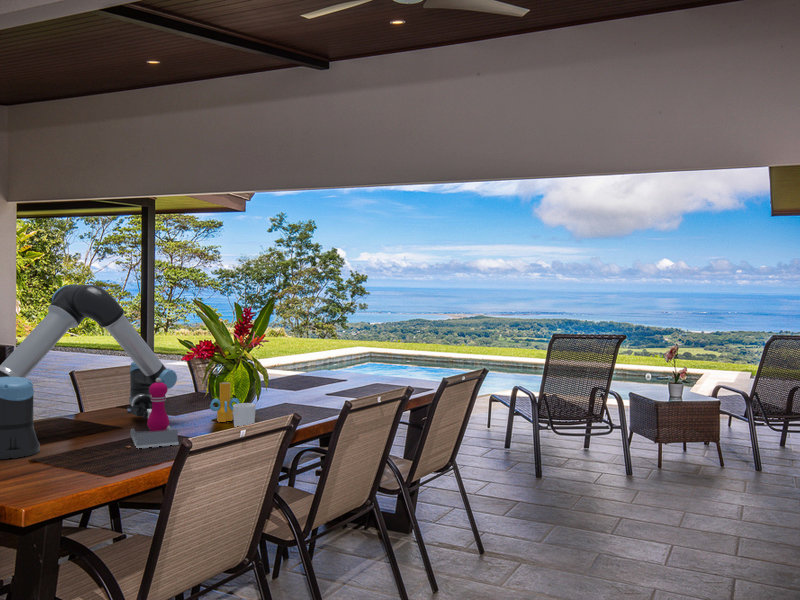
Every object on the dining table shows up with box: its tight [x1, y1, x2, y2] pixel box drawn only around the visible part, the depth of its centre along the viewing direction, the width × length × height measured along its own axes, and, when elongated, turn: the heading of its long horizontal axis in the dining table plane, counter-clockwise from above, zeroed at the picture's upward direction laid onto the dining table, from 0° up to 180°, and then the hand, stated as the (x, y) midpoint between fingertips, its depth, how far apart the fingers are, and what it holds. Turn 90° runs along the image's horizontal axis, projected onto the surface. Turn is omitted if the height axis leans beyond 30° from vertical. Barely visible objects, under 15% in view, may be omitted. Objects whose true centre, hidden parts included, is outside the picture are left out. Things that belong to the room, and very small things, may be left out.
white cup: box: [232, 402, 256, 427], centre depth 240 cm, size 8×8×10 cm
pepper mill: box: [146, 378, 170, 431], centre depth 229 cm, size 7×7×20 cm
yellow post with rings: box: [209, 381, 240, 423], centre depth 259 cm, size 12×10×15 cm
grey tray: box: [129, 424, 179, 450], centre depth 228 cm, size 22×13×5 cm, turn 27°
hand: (151, 416), depth 232 cm, fingers closed
